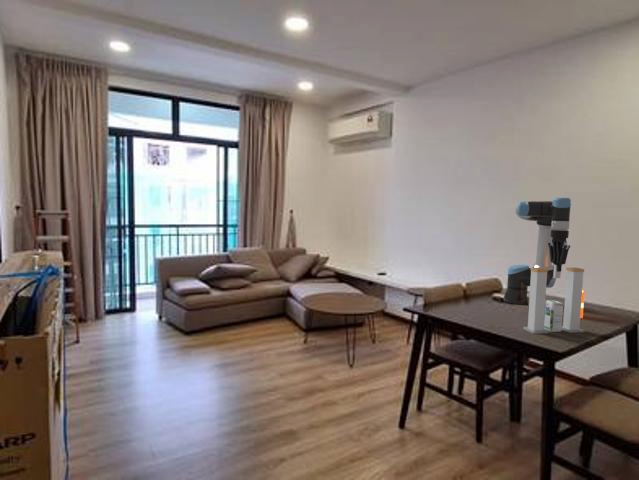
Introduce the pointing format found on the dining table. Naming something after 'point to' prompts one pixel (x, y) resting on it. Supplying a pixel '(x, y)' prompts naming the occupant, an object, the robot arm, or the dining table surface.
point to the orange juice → (582, 304)
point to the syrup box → (553, 316)
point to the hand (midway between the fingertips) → (556, 277)
